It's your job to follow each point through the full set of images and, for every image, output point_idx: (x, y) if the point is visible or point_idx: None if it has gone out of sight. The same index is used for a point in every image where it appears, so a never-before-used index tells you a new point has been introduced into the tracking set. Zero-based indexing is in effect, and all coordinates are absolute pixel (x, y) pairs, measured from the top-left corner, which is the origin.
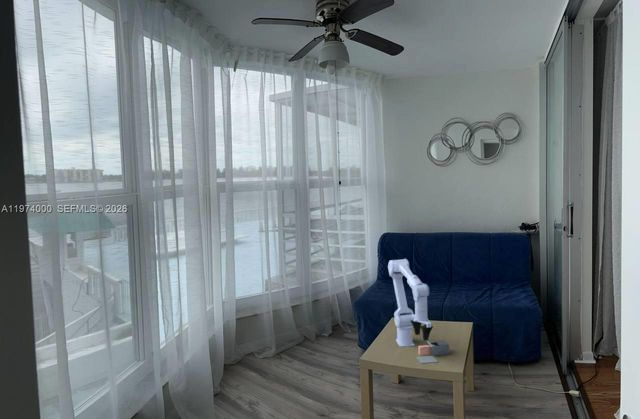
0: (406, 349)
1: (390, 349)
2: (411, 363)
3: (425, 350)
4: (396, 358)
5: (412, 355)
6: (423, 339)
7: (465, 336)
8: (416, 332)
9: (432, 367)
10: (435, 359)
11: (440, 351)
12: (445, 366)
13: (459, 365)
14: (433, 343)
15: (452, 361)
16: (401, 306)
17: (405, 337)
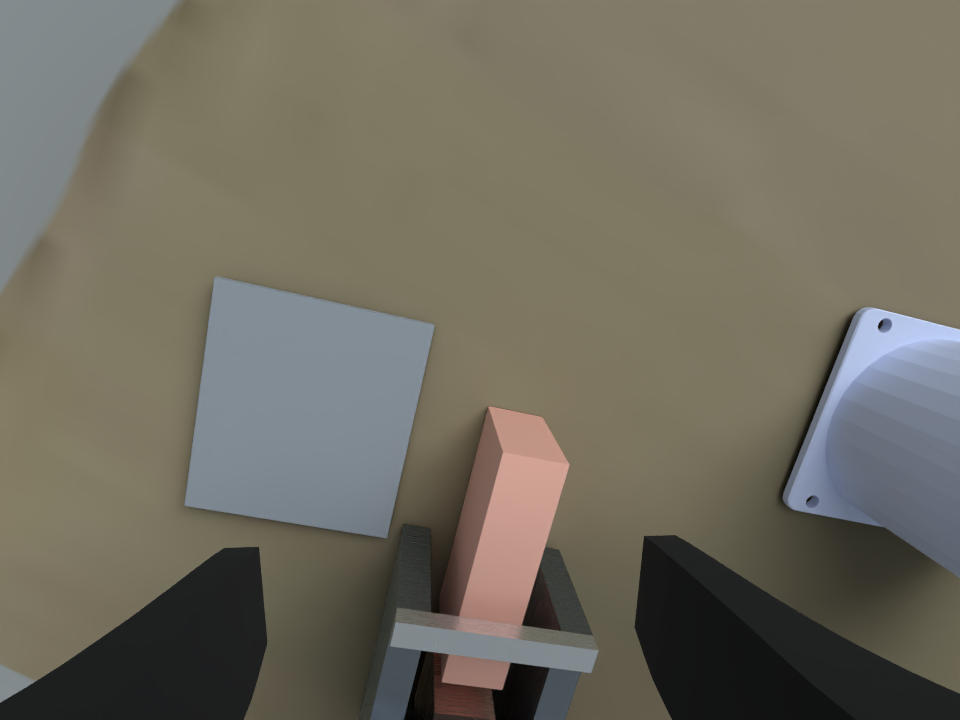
0: (742, 343)
1: (861, 127)
2: (286, 154)
3: (473, 510)
4: (538, 30)
5: (532, 316)
6: (250, 552)
7: None
8: (673, 593)
9: (67, 362)
10: (262, 513)
11: (373, 669)
12: (55, 527)
13: None
14: (532, 700)
15: None
16: None
17: (944, 432)
